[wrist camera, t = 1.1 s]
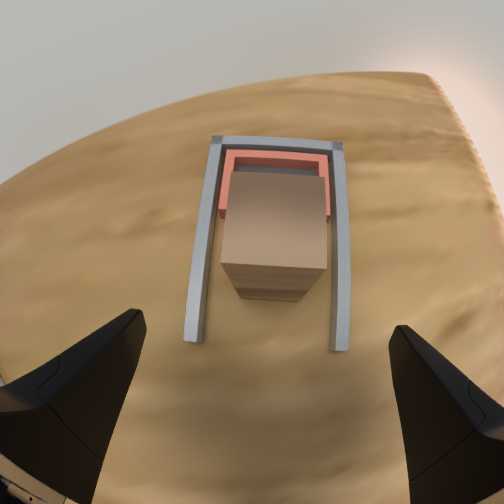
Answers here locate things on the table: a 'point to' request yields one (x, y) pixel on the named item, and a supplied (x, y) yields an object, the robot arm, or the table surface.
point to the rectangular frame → (273, 168)
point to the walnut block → (274, 234)
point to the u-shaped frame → (207, 224)
